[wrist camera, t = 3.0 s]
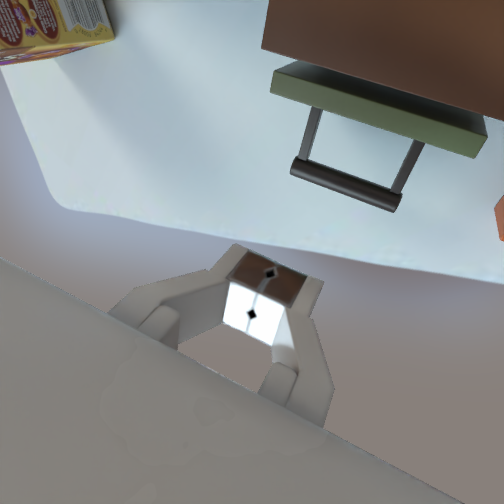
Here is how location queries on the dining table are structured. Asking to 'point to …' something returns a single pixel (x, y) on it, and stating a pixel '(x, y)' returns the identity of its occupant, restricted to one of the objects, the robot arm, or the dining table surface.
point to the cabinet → (401, 45)
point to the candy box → (50, 28)
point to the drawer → (375, 114)
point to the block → (500, 217)
